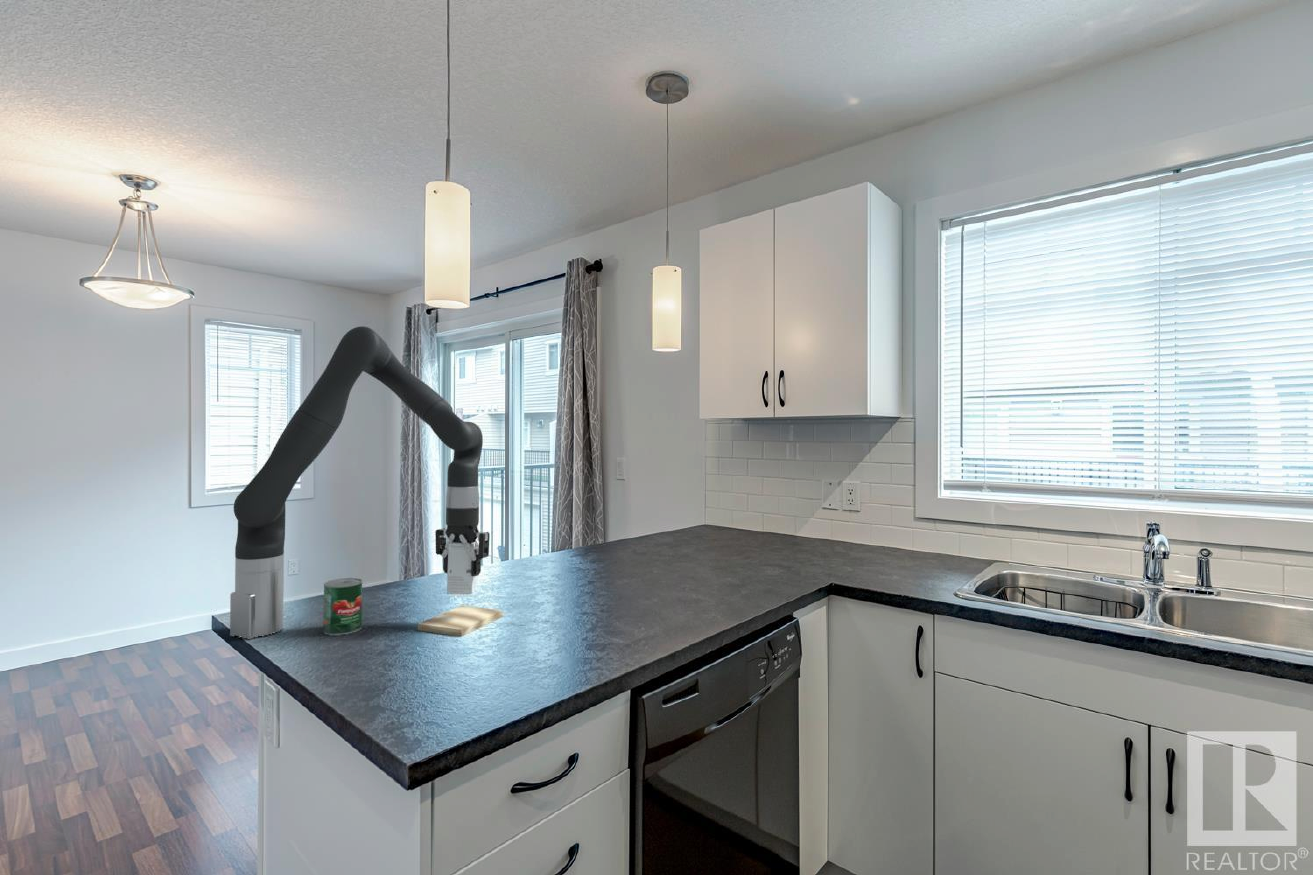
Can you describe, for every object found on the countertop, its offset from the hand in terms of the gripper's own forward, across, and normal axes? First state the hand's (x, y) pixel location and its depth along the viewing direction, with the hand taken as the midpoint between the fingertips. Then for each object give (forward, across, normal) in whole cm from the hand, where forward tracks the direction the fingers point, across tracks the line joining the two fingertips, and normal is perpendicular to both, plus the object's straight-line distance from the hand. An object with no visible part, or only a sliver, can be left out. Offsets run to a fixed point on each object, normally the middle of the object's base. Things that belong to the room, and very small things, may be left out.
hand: (461, 574), depth 146 cm
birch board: (+12, 0, 0) cm, 12 cm away
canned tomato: (+12, -22, -14) cm, 29 cm away
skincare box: (+5, 0, 0) cm, 5 cm away
